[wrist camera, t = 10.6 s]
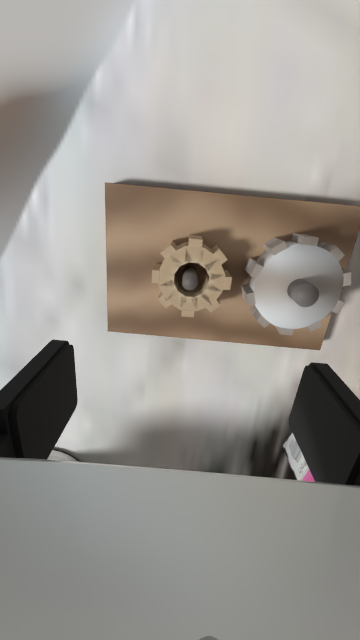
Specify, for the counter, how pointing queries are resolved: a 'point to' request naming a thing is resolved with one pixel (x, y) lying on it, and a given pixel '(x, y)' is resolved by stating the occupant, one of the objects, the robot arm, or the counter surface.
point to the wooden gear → (200, 295)
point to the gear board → (229, 264)
